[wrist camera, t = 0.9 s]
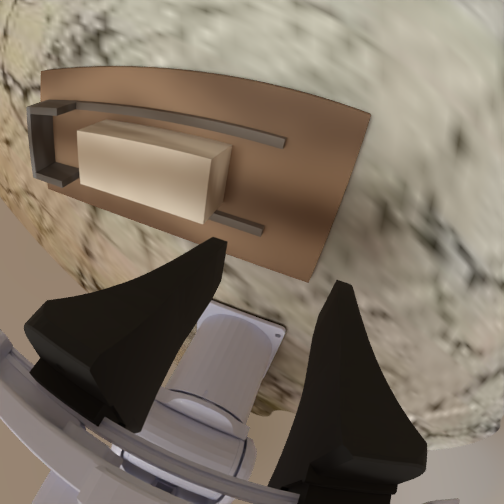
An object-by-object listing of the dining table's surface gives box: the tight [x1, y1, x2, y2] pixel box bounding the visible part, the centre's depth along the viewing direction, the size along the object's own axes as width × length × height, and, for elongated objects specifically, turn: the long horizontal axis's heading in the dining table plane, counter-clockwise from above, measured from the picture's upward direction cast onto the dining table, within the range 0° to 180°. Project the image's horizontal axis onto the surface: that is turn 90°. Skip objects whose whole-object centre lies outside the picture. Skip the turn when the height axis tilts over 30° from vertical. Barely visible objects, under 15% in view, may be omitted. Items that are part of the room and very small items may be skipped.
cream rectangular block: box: [77, 120, 232, 224], centre depth 17 cm, size 4×10×3 cm, turn 78°
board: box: [27, 66, 371, 282], centre depth 18 cm, size 12×26×3 cm, turn 78°
